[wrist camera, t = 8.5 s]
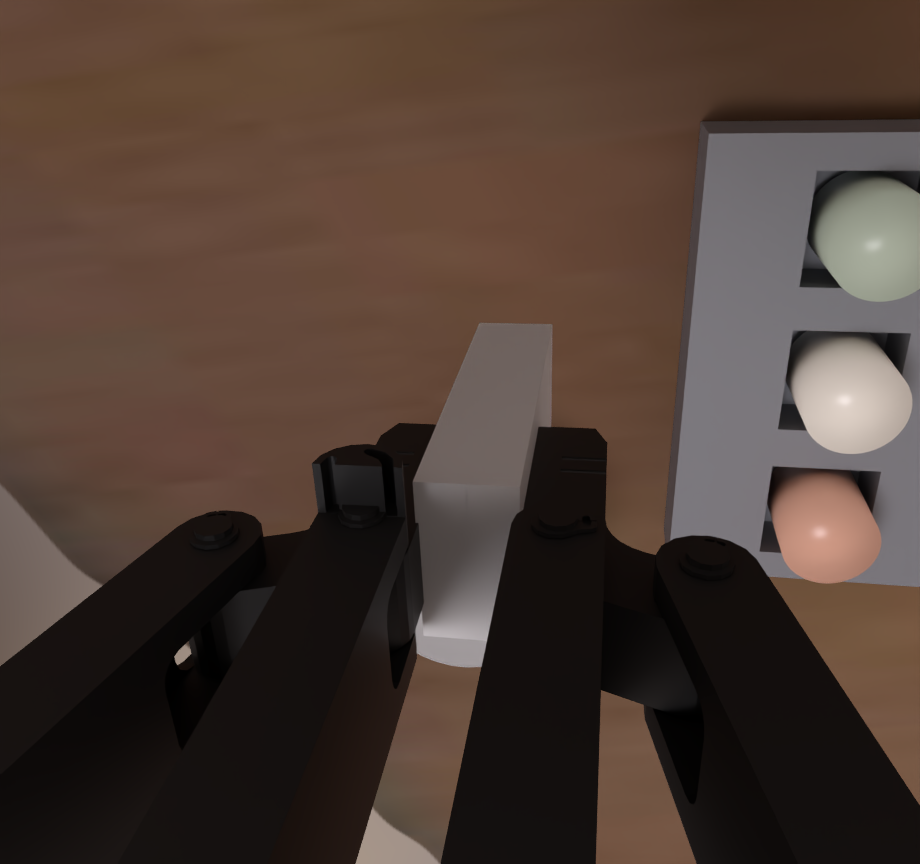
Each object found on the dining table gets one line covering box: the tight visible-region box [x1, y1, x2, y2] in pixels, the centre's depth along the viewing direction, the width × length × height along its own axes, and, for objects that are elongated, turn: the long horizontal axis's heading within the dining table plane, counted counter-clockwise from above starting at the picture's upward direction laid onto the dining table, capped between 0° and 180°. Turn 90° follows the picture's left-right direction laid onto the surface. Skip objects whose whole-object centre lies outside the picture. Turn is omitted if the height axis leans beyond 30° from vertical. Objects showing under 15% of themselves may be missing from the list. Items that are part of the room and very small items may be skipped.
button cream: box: [785, 331, 912, 454], centre depth 39 cm, size 4×4×5 cm
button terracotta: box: [767, 466, 881, 583], centre depth 43 cm, size 4×4×5 cm
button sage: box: [807, 171, 920, 302], centre depth 36 cm, size 4×4×5 cm
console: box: [664, 119, 920, 587], centre depth 41 cm, size 22×14×4 cm, turn 2°
